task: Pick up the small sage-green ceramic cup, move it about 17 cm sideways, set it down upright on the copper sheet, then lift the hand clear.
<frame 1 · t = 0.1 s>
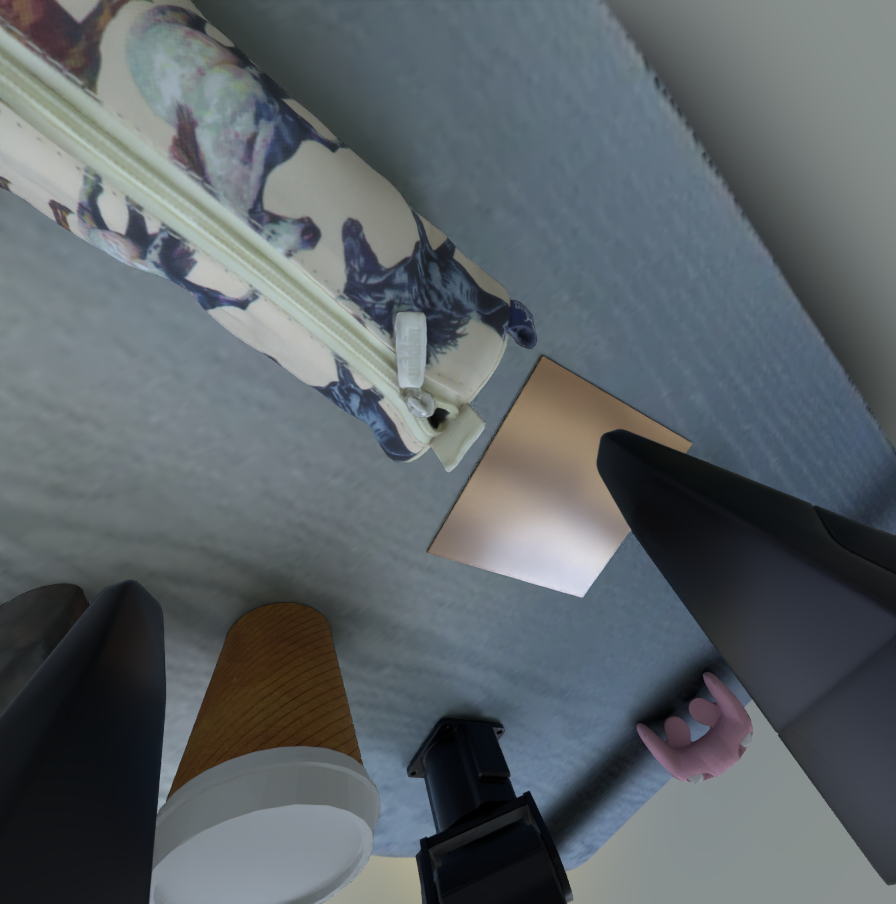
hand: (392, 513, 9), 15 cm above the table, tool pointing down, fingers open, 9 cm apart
pencil case: (243, 209, 19), on the table
disposable coffee cup: (279, 638, 29), on the table
owl: (3, 667, 24), on the table
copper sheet: (565, 495, 30), on the table
video game controller: (676, 704, 46), on the table
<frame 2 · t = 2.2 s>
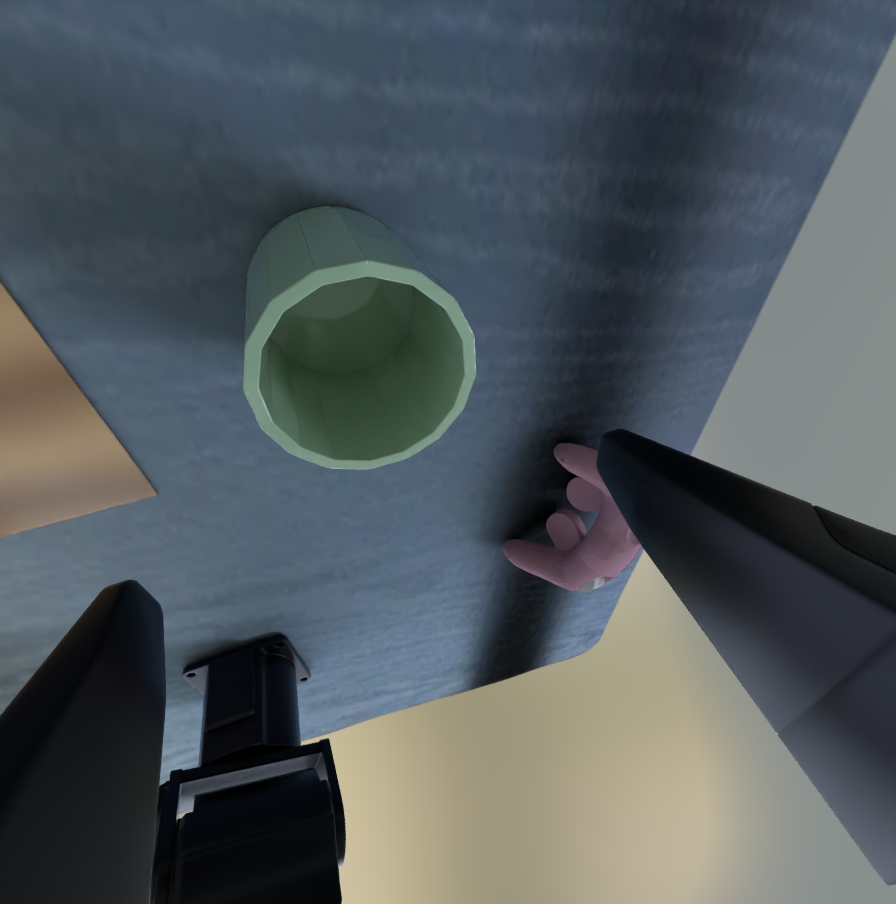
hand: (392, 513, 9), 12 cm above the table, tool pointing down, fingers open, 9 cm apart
glazed cup: (338, 299, 18), on the table
video game controller: (556, 494, 30), on the table
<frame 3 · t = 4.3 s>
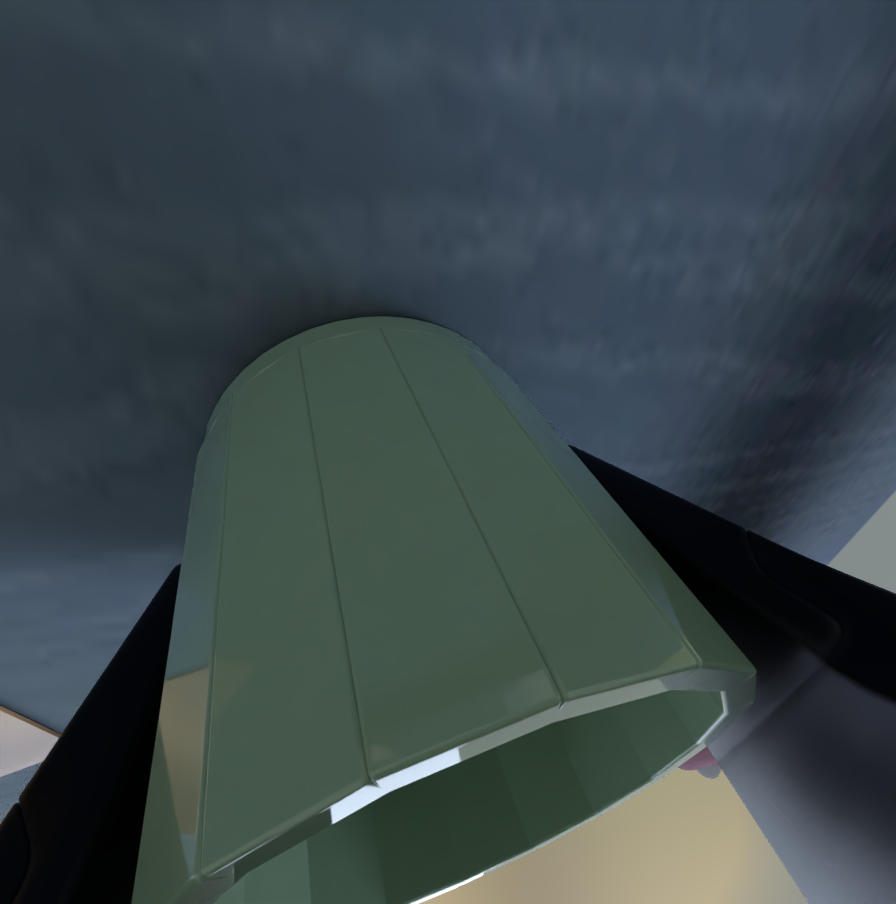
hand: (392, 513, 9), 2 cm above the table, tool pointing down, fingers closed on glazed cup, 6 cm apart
glazed cup: (375, 463, 10), on the table, touching gripper
video game controller: (655, 629, 22), on the table
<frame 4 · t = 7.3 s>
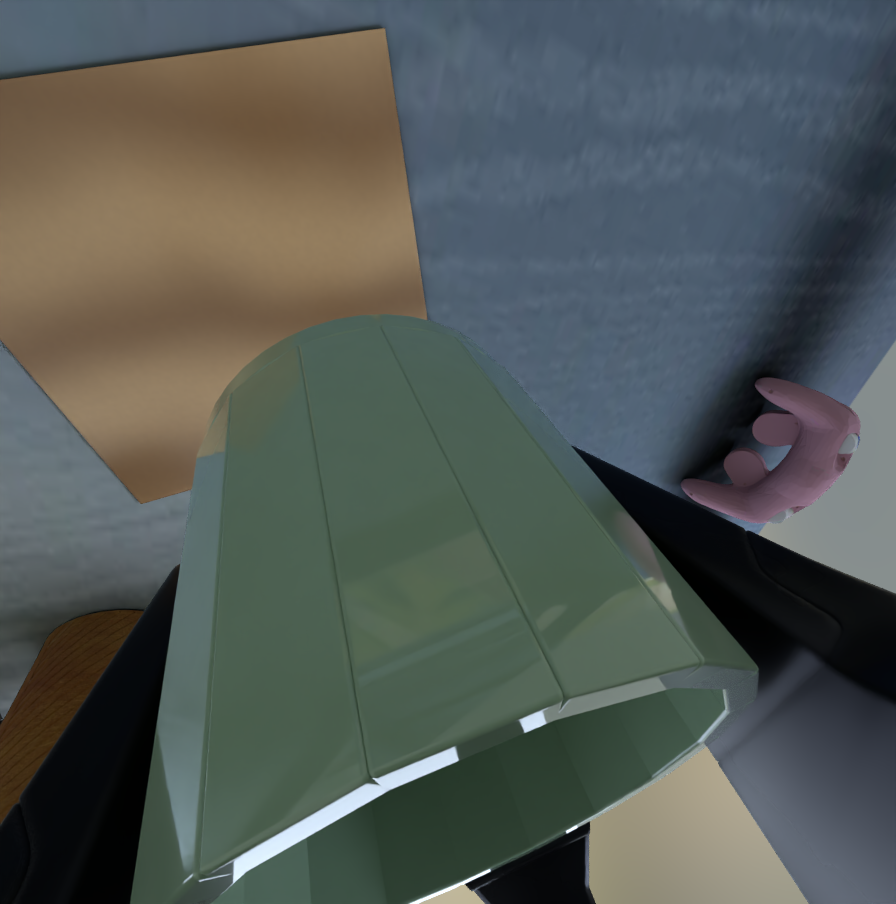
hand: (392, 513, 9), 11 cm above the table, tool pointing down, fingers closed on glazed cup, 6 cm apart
disposable coffee cup: (119, 639, 25), on the table
glazed cup: (375, 461, 10), point 10 cm above the table, touching gripper
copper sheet: (236, 316, 16), on the table
video game controller: (735, 433, 32), on the table
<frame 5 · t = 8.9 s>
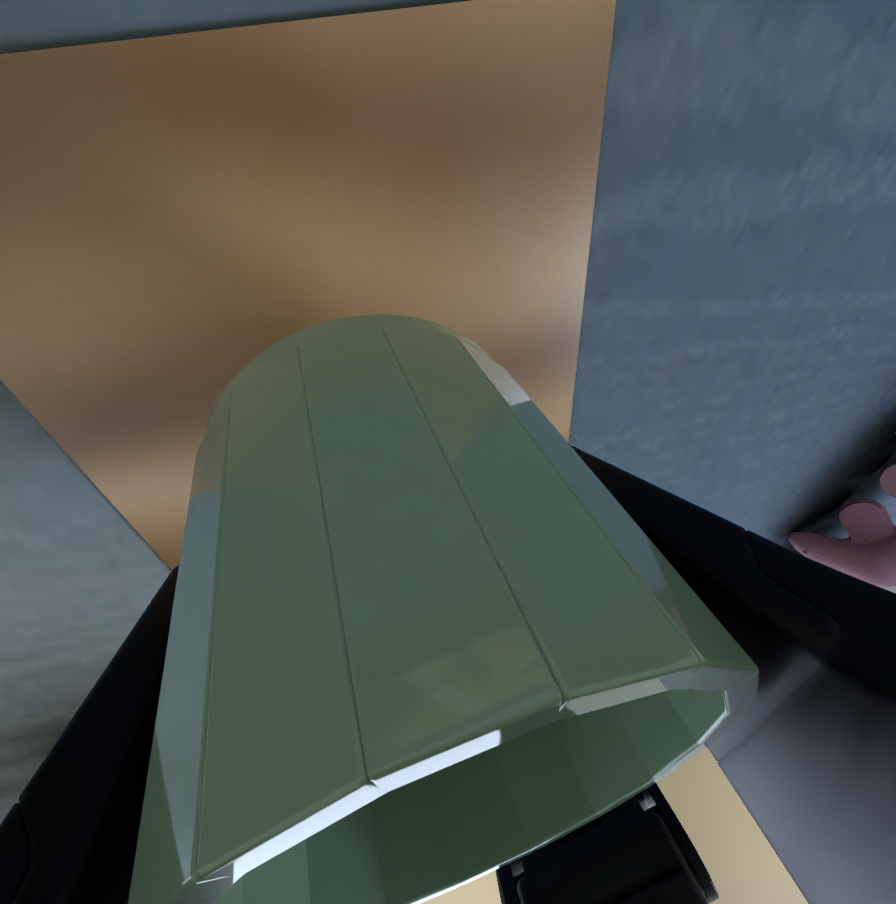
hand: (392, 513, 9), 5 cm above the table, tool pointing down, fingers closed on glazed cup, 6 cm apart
glazed cup: (375, 461, 10), point 4 cm above the table, touching gripper
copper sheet: (349, 379, 12), on the table
video game controller: (855, 482, 28), on the table
when the fingers open (2 cm above the table, at t = 10.4 s): glazed cup stays where it is, resting on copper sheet.
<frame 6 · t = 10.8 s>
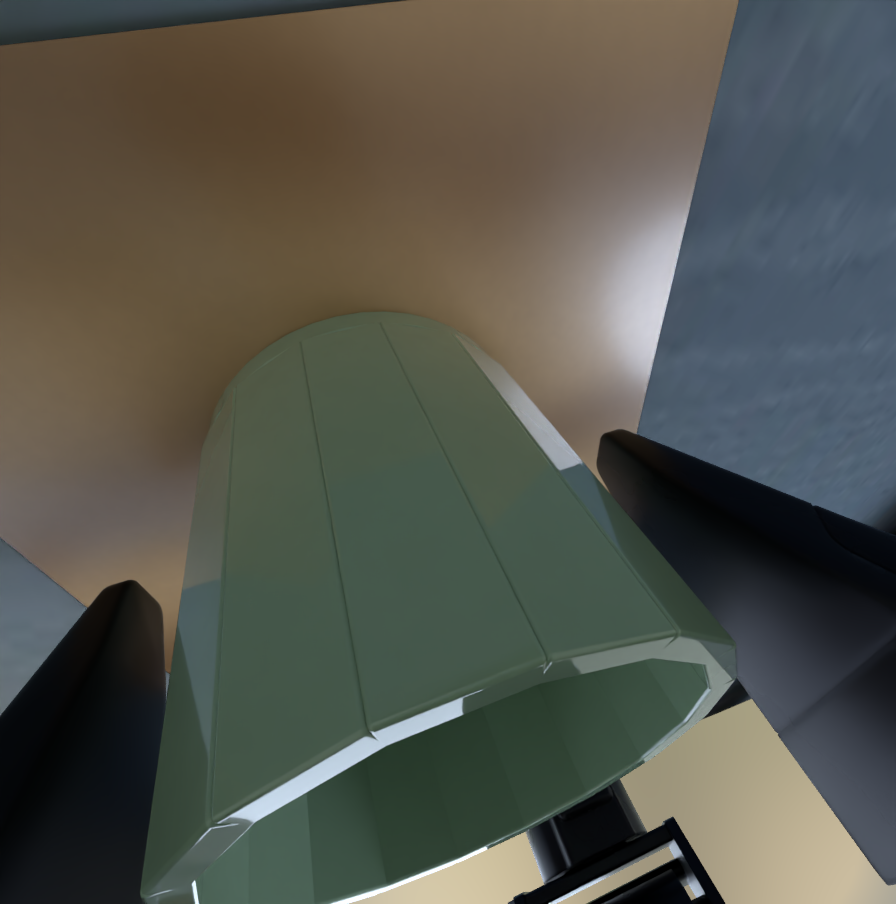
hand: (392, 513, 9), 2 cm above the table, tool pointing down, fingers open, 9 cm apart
glazed cup: (374, 456, 10), resting on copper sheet
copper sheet: (374, 453, 10), on the table
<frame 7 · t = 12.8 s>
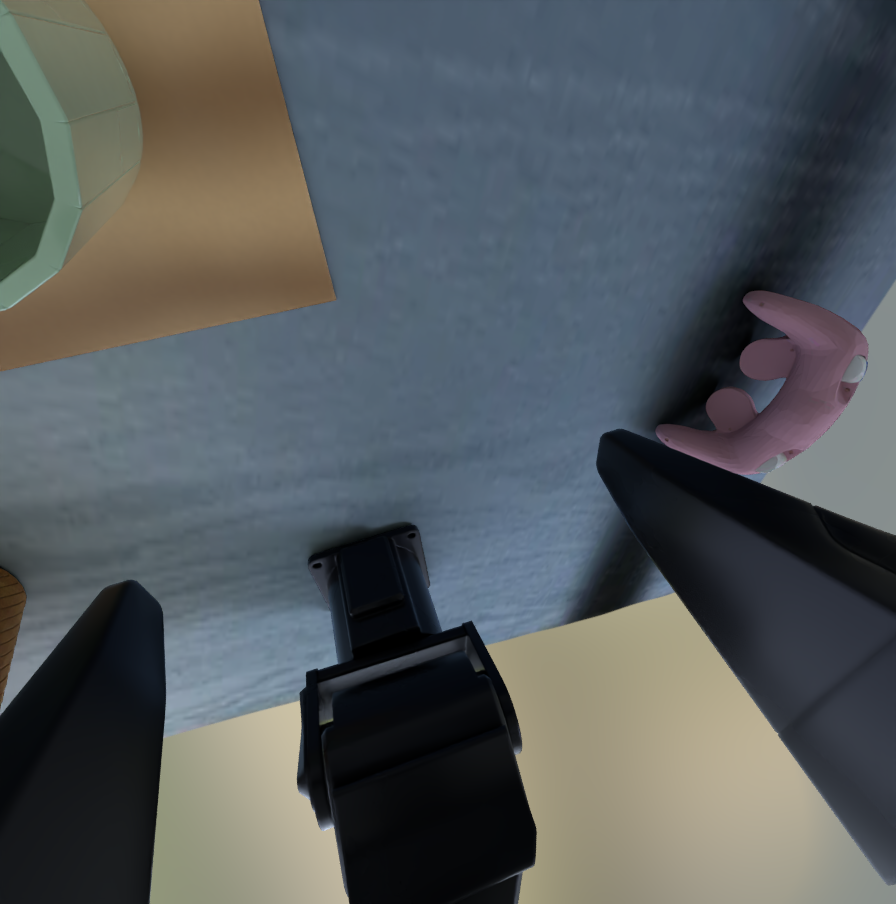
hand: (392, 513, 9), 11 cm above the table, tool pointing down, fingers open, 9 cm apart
video game controller: (720, 369, 27), on the table
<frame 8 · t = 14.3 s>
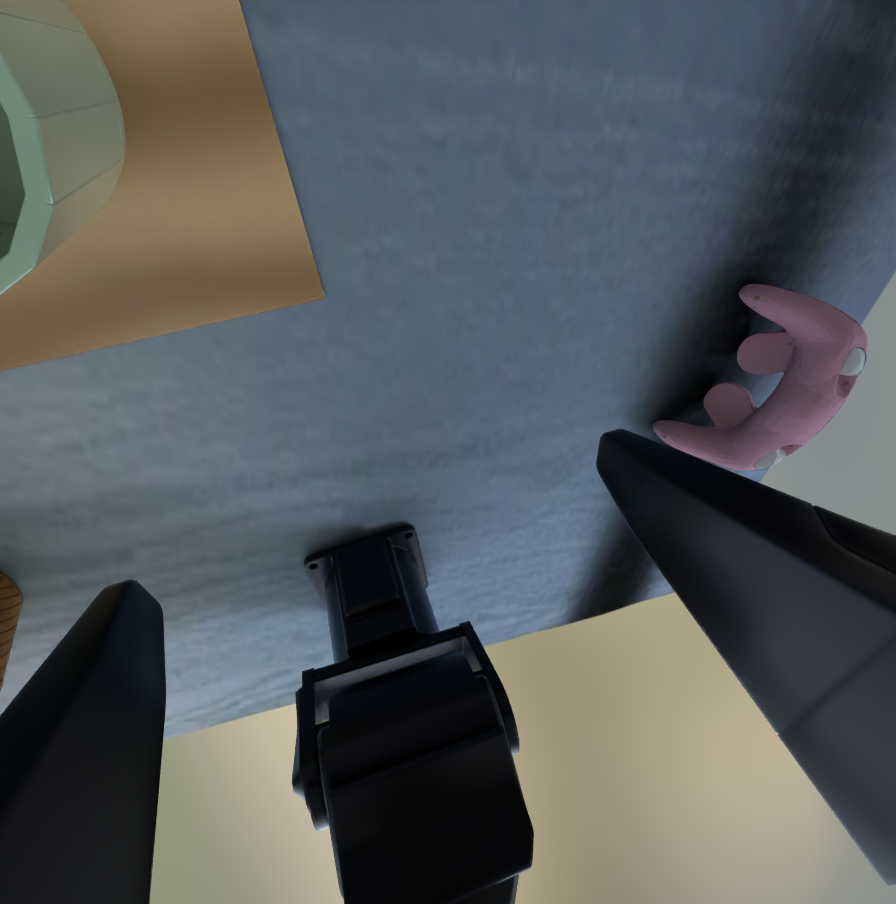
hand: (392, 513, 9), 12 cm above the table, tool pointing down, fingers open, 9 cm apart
video game controller: (717, 364, 27), on the table
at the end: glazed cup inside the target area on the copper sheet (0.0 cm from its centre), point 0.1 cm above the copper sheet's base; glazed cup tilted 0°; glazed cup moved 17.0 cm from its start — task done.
